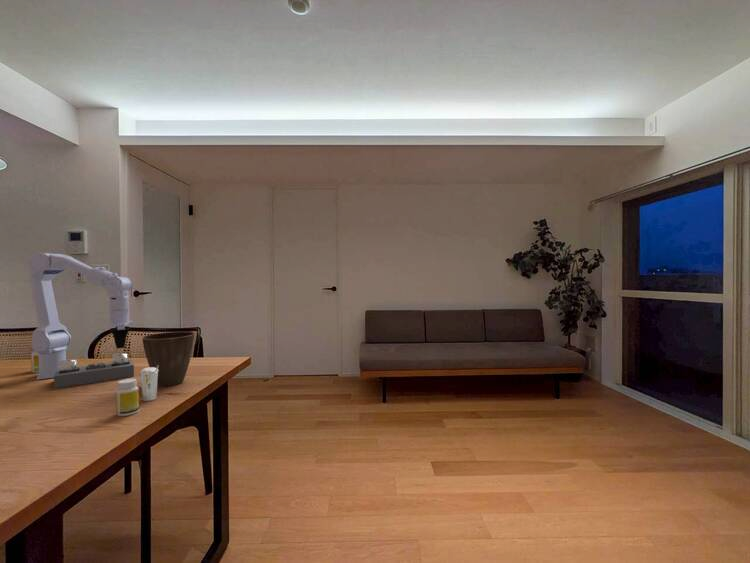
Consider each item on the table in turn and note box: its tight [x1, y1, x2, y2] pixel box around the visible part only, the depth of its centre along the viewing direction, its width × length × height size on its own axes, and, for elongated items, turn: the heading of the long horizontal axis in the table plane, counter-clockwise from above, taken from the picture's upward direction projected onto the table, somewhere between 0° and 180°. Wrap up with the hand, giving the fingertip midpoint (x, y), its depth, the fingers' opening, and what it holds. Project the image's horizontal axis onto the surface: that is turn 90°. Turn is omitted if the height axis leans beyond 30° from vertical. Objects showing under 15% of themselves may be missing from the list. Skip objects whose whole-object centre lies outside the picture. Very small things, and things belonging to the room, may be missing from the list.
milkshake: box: [139, 365, 159, 402], centre depth 101 cm, size 5×5×10 cm
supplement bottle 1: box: [30, 348, 39, 374], centre depth 133 cm, size 5×5×10 cm
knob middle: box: [87, 362, 105, 370], centre depth 122 cm, size 4×4×4 cm
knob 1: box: [60, 358, 79, 373], centre depth 118 cm, size 4×4×4 cm
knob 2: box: [112, 352, 129, 366], centre depth 127 cm, size 4×4×4 cm
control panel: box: [53, 359, 135, 390], centre depth 122 cm, size 11×21×4 cm, turn 129°
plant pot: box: [141, 331, 195, 387], centre depth 116 cm, size 15×15×16 cm
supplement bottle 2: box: [115, 378, 140, 417], centre depth 91 cm, size 5×5×8 cm
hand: (120, 347), depth 127 cm, fingers closed
